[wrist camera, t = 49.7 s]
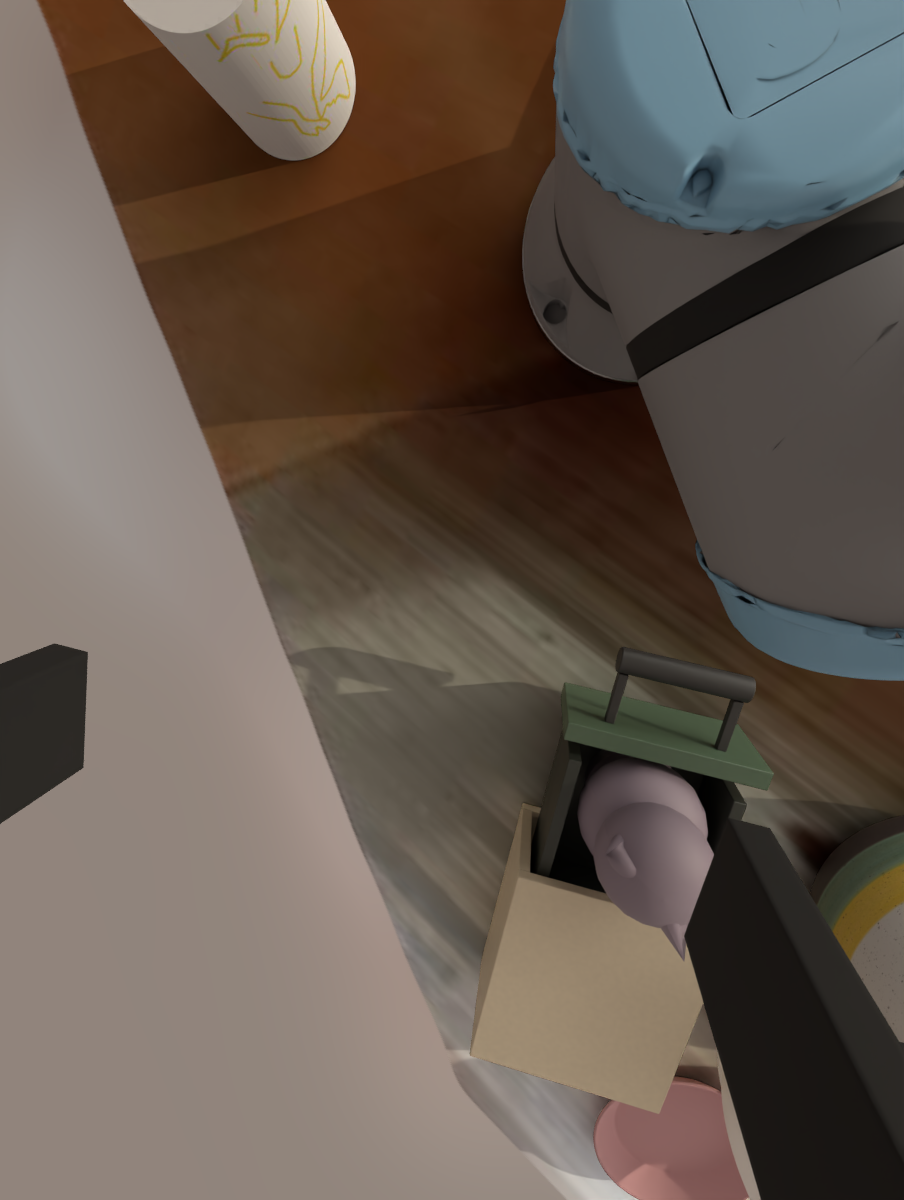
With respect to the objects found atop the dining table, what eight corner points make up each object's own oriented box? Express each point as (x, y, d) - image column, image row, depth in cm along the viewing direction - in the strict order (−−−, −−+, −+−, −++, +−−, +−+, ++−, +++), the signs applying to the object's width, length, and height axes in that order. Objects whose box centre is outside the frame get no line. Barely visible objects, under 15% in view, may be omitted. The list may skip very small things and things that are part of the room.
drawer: (581, 617, 42) (589, 647, 35) (761, 658, 40) (803, 697, 34) (519, 849, 47) (515, 913, 40) (677, 892, 45) (700, 965, 39)
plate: (752, 1056, 49) (761, 1080, 47) (772, 1187, 52) (780, 1215, 50) (578, 1061, 52) (580, 1084, 50) (606, 1185, 54) (608, 1212, 53)
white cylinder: (316, 186, 39) (218, 71, 27) (212, 115, 38) (70, -30, 27) (379, 55, 36) (302, -132, 25) (269, -20, 36) (141, -243, 25)
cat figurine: (712, 801, 42) (776, 931, 31) (618, 851, 44) (644, 990, 33) (644, 708, 41) (683, 805, 30) (551, 763, 43) (554, 875, 32)
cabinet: (522, 802, 47) (518, 876, 38) (696, 848, 45) (730, 935, 37) (481, 958, 51) (469, 1056, 42) (640, 1004, 49) (659, 1115, 41)
